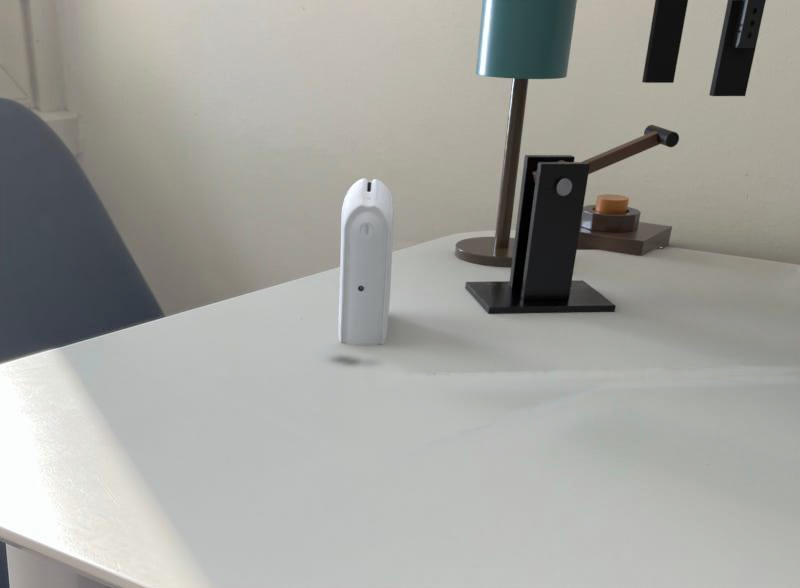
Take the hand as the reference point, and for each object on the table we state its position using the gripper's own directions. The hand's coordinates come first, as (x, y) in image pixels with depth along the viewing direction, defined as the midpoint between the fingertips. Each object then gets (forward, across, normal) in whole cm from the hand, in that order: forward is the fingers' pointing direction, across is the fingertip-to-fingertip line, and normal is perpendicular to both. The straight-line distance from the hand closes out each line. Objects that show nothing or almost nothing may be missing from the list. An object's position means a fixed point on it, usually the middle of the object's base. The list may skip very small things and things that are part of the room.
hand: (690, 89), depth 86 cm
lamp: (+18, -18, -10) cm, 28 cm away
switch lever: (+7, -1, -6) cm, 9 cm away
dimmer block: (+18, -25, +5) cm, 31 cm away
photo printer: (+18, +7, -29) cm, 35 cm away
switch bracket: (+18, -1, -11) cm, 21 cm away
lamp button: (+14, -25, +5) cm, 29 cm away
